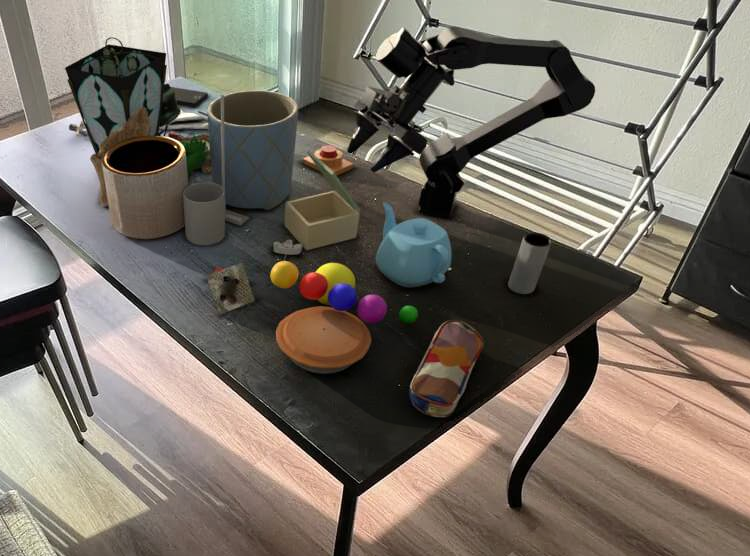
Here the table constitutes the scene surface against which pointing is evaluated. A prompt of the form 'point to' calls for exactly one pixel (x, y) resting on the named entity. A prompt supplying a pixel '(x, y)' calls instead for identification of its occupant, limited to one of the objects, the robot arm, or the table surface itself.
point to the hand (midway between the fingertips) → (360, 161)
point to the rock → (132, 128)
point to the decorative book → (205, 138)
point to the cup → (204, 213)
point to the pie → (323, 339)
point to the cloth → (188, 122)
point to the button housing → (330, 162)
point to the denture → (174, 135)
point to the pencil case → (445, 369)
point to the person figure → (78, 128)
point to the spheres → (336, 290)
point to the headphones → (168, 108)
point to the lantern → (117, 88)
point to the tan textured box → (230, 288)
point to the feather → (180, 129)
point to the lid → (333, 181)
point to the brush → (228, 216)
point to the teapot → (413, 251)
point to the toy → (194, 156)
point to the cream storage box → (321, 220)
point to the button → (328, 151)
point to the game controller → (287, 248)
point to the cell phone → (189, 96)
